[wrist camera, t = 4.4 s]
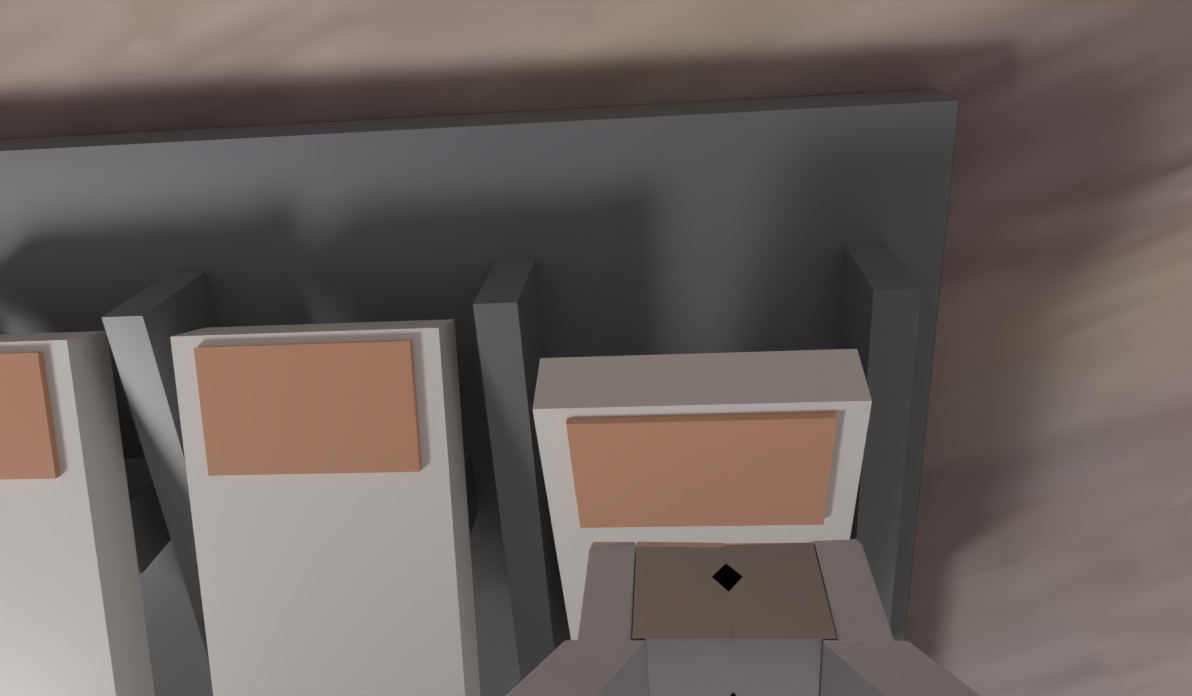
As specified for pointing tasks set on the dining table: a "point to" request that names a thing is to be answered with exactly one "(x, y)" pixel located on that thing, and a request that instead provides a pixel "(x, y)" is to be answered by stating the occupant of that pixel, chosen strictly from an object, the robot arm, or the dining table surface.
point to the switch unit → (497, 290)
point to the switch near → (698, 450)
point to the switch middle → (330, 508)
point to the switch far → (66, 525)
